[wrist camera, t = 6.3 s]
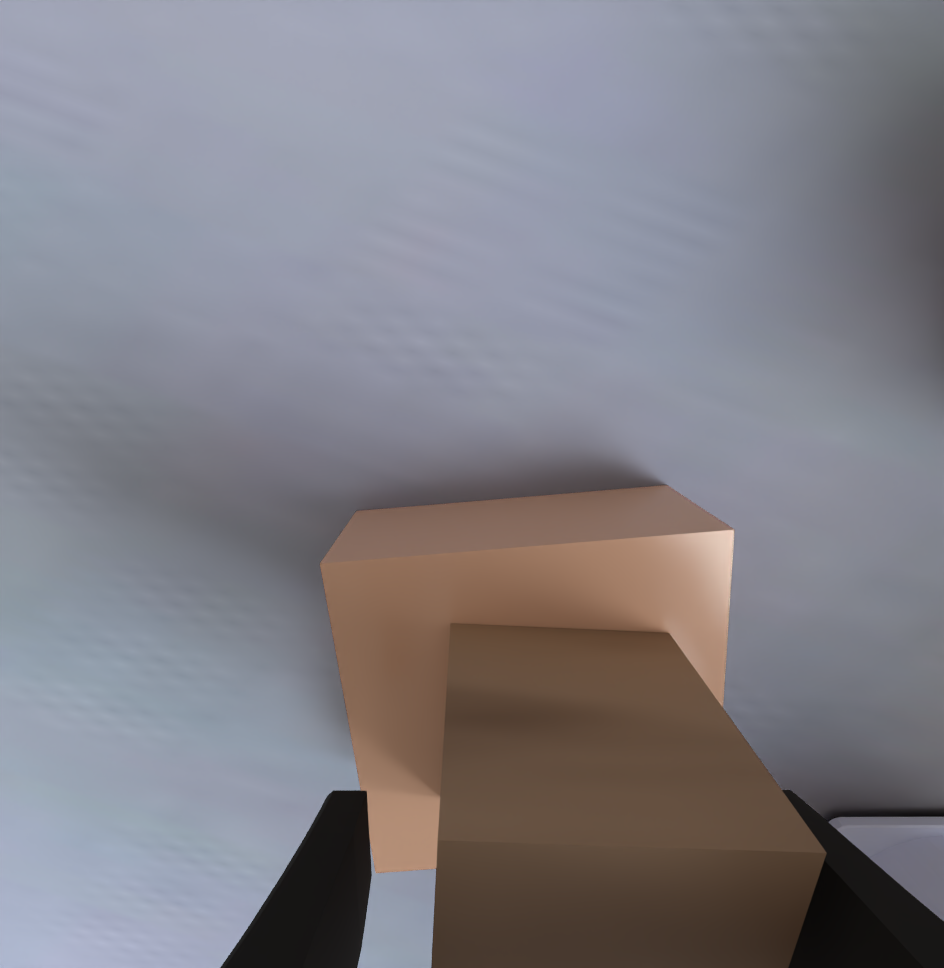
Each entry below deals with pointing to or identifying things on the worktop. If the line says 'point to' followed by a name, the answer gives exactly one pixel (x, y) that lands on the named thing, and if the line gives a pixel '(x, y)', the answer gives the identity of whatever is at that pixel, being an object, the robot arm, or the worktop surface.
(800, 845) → the walnut cube
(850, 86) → the worktop surface
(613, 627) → the terracotta block
